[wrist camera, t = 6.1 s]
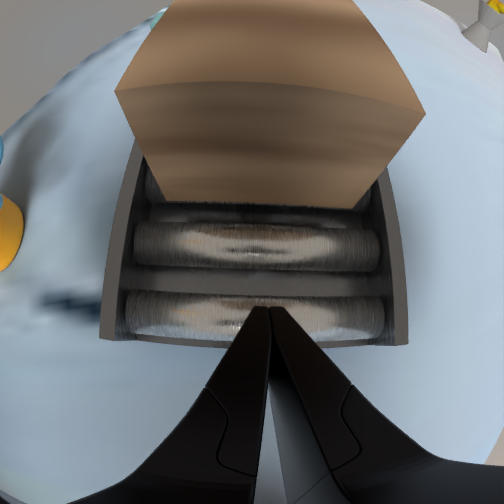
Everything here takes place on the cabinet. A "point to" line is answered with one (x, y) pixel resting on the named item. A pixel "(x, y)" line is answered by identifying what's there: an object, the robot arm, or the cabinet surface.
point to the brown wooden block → (267, 102)
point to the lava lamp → (485, 23)
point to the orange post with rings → (9, 226)
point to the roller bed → (251, 278)
